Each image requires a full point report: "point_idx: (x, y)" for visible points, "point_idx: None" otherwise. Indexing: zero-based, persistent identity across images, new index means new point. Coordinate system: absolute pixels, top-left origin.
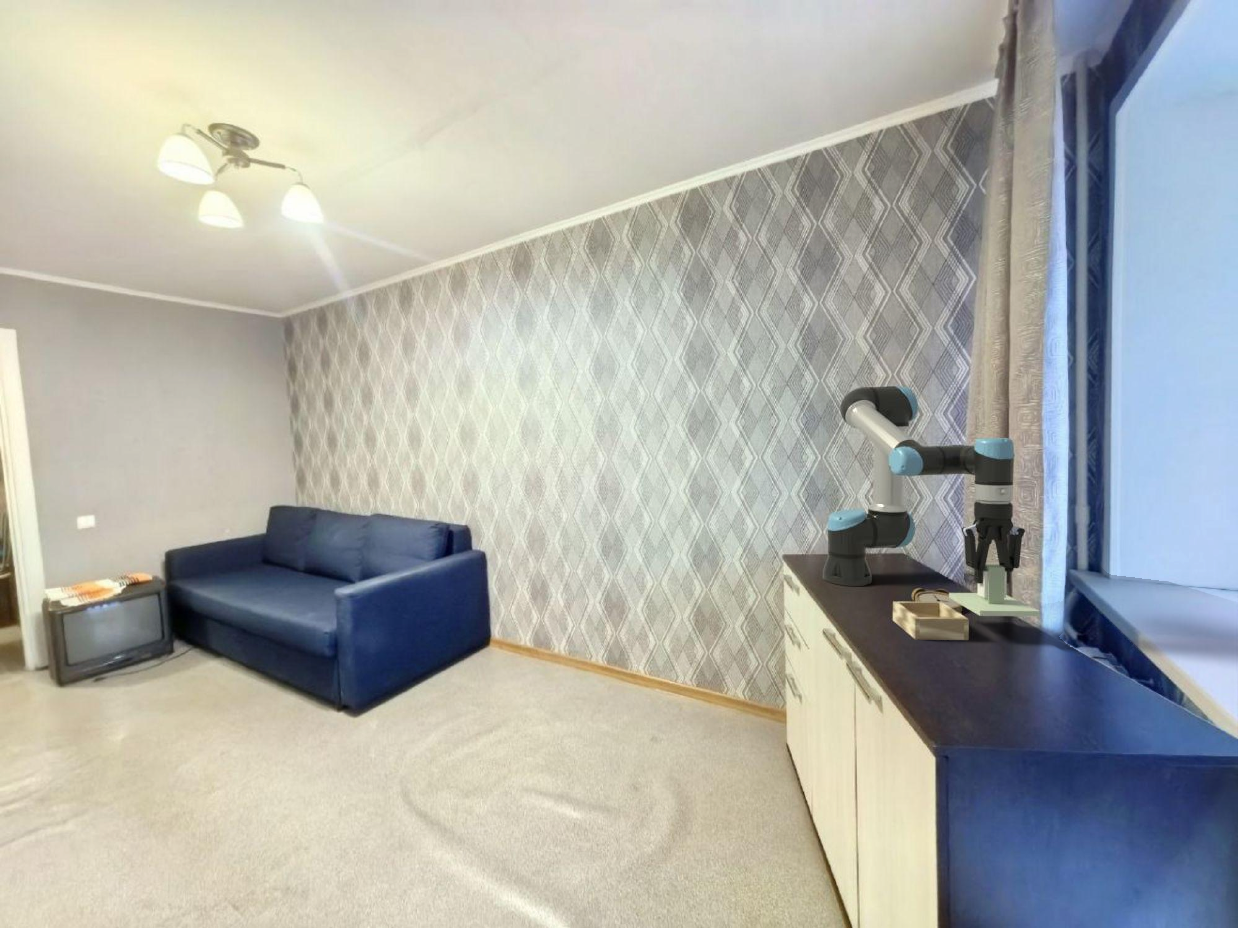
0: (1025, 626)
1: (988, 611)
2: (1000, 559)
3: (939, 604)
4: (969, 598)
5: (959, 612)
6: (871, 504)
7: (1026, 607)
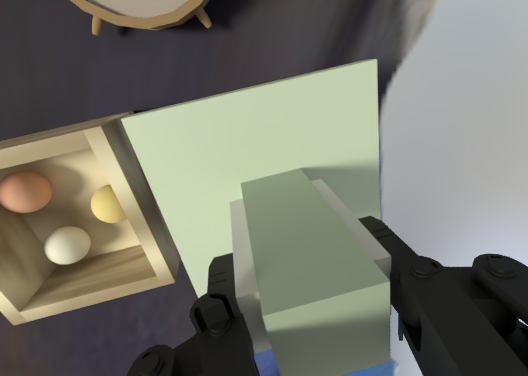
0: (379, 67)
1: None
2: (436, 357)
3: (95, 147)
4: (200, 185)
5: (203, 20)
6: None
7: None
